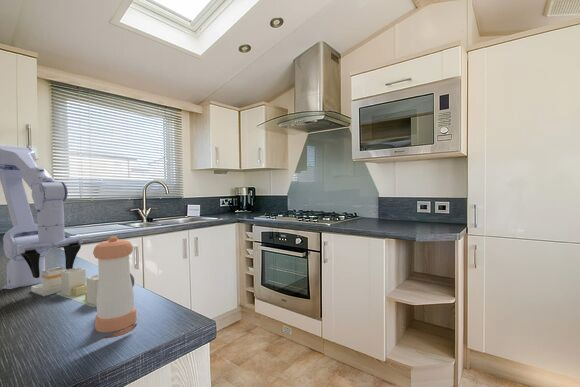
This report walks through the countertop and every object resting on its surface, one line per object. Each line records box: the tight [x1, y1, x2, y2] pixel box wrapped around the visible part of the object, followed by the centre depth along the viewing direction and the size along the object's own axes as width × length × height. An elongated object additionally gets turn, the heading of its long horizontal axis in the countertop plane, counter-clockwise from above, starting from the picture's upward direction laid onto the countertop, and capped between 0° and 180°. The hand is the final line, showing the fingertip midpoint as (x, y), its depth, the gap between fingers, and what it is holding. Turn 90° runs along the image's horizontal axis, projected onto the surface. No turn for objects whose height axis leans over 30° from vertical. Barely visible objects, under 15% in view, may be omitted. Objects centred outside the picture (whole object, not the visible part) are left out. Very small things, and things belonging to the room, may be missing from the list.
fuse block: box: [55, 284, 97, 308], centre depth 75 cm, size 19×6×3 cm, turn 60°
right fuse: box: [86, 274, 99, 305], centre depth 72 cm, size 4×4×6 cm
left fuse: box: [61, 266, 87, 296], centre depth 79 cm, size 4×4×6 cm
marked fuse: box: [41, 266, 66, 290], centre depth 81 cm, size 4×4×6 cm
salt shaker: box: [92, 235, 138, 339], centre depth 60 cm, size 7×7×19 cm
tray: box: [30, 283, 62, 297], centre depth 81 cm, size 8×8×3 cm
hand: (53, 273), depth 81 cm, fingers open, 7 cm apart
